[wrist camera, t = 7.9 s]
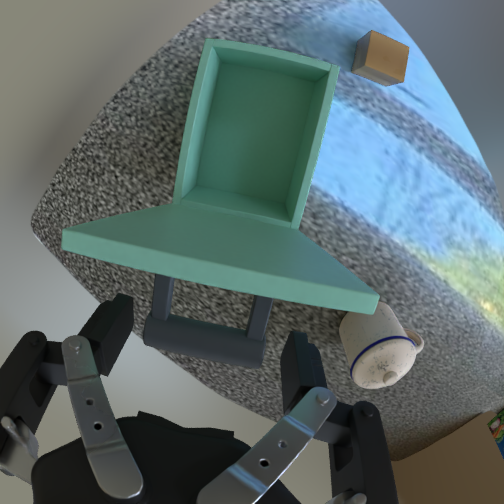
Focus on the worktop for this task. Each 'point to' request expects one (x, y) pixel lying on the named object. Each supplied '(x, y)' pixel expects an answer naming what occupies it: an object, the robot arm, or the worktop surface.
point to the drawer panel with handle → (219, 273)
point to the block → (380, 59)
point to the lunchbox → (253, 131)
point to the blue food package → (498, 430)
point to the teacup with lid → (378, 347)
